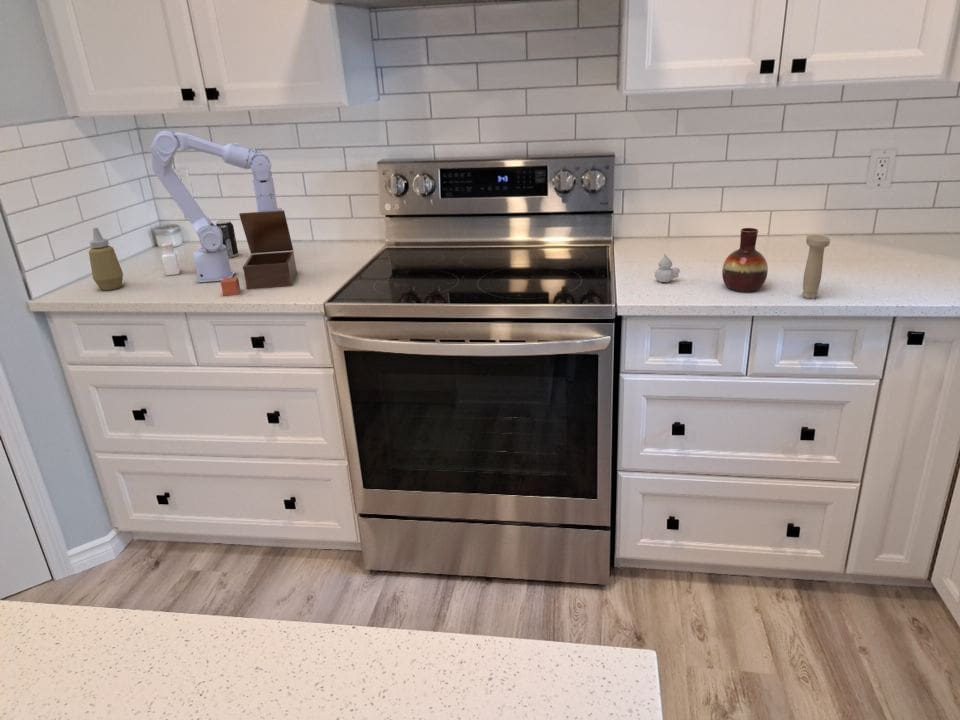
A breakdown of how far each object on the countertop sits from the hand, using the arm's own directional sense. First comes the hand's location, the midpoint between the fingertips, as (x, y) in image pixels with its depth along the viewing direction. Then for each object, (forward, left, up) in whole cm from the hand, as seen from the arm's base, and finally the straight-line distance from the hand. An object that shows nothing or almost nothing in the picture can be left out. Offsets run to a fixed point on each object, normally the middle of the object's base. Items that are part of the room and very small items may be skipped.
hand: (272, 239), depth 212 cm
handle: (+139, -62, -10) cm, 153 cm away
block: (-10, -20, -10) cm, 25 cm away
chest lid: (0, -7, +4) cm, 8 cm away
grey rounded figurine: (+110, -41, -10) cm, 118 cm away
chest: (0, -11, -10) cm, 15 cm away
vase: (+127, -51, -10) cm, 137 cm away
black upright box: (-19, +23, -10) cm, 31 cm away
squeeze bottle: (-48, -5, -10) cm, 49 cm away
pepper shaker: (-33, +6, -10) cm, 35 cm away
